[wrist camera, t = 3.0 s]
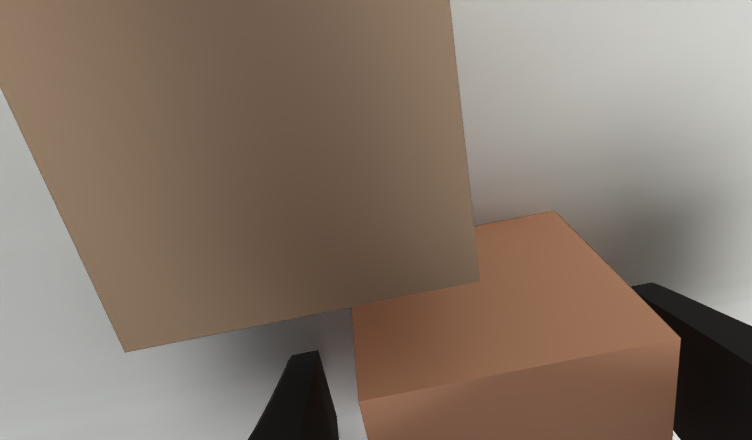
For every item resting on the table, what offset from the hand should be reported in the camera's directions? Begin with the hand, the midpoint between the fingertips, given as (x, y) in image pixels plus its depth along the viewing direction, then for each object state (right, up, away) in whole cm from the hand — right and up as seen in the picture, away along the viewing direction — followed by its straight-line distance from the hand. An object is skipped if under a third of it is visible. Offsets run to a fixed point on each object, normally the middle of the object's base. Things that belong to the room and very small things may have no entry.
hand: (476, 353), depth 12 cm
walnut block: (-4, +6, -1) cm, 7 cm away
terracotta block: (0, +1, +1) cm, 2 cm away
